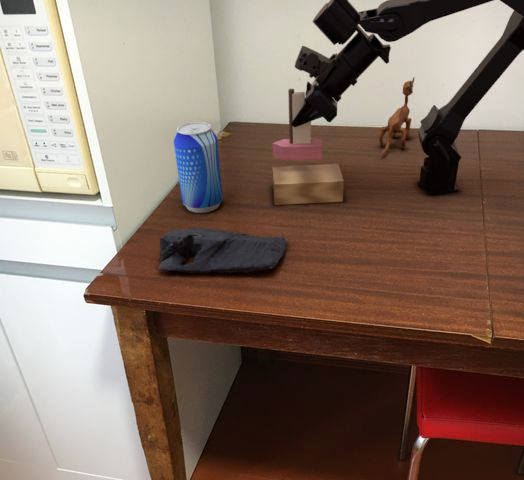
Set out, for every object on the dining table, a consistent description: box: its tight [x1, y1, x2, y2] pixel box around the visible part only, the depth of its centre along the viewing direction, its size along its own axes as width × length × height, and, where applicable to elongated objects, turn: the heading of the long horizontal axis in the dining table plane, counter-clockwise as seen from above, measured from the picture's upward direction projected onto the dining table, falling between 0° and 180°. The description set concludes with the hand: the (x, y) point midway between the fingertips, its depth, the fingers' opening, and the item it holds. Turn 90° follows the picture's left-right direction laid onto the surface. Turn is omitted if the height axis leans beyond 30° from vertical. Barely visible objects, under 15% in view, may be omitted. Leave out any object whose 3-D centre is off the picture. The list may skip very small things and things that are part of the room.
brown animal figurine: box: [378, 76, 415, 156], centre depth 140 cm, size 18×7×14 cm, turn 153°
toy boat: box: [272, 88, 323, 161], centre depth 120 cm, size 10×4×13 cm, turn 84°
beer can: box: [173, 121, 224, 214], centre depth 119 cm, size 8×8×16 cm
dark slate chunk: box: [157, 227, 288, 274], centre depth 105 cm, size 15×22×5 cm
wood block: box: [272, 163, 345, 206], centre depth 124 cm, size 14×9×4 cm, turn 91°
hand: (293, 124), depth 120 cm, fingers closed on toy boat
